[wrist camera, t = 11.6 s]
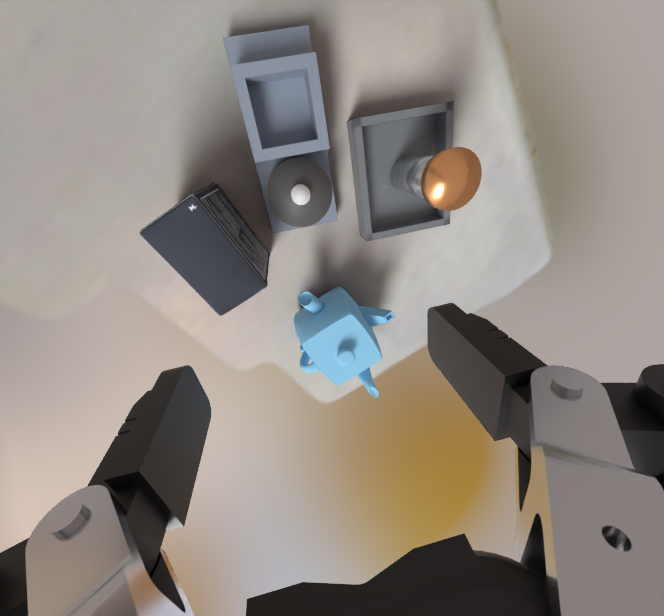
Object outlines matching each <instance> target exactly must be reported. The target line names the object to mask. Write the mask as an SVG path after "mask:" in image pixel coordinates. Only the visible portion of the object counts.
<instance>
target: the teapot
mask: <svg viewBox="0 0 664 616" xmlns="http://www.w3.org/2000/svg"><path fill="white" fill-rule="evenodd" d="M298 301H299V303H300V305H302V306H303V307H304V308H303V309H301V310H300V311H299V312H297V313H296V314H295V317H294V325H295V329H296V332H297V335H298V338H299V340H300V343H301V346H300V350H301V352H302V353H303V354H302V357H301V359H300V367H301V369H302V370H303V371H304V372H306V373H314V372H316V371H318V370H319V369H320V370H321V371H322V372H323V373H324V374H325V375H326V376H327V377H328V378H329V379H330V380H331V381H332V382H333V383H334V384H336V385H340V384H342V383H343V382H345V381H347V380H349V379H351V378H352V377H354V376H356V375H357V377H358V378H359V379H360V380H361V381H362V383H363V384H364V385H365V387H366V388H367V390H368V391H369V393H370V394H371V395H372V396H373V397H378V396H379V394H378V391H377V388H376V387H375V385H374V382H373V380H372V377H371V373H370V368H369V367H371V366H372V365H374V364H375V363H377V362H378V361H380V360H381V359H382V354H381V351H380V347H379V344H378V341H377V339H376V336H375V334H374V332H373V330H372V328H371V327H372V326H375V325H379V324H382V323H386V322H387V323H388V322H389V321H390V320H391V319H393V318H394V317H395V316H394V314H393V313H392V311H391V310H385V309H378V308H372V307H366V306H358V305H357V303H356V302H355V301H354V300H353V299H352V297H351V296H350V295H349V294H348V293H347V292H346V291H345V290H344V289H343V288H342V287H339V286H338V287H336V288H334V289H332V290H331V291H329V292H327V293H326V294H324V295H323V296H321V297H319V298H317V297H316V296H315V295H313V294H312V293H311V292H309V291H304V292H302V293H301V294H300V295H299V297H298ZM310 358H311V359H312V361H313V363H311V364H309V365H308V362H309V360H310Z"/></svg>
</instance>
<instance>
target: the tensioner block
mask: <svg viewBox="0 0 664 616" xmlns="http://www.w3.org/2000/svg"><path fill="white" fill-rule="evenodd" d="M223 41H224V45H225V49H226V53H227V57H228V61H229V64H230V68H231V72H232V76H233V80H234V84H235V88H236V92H237V95H238V99H239V103H240V107H241V111H242V115H243V119H244V122H245V126H246V130H247V134H248V138H249V142H250V146H251V150H252V153H253V157H254V161H255V165H256V169H257V173H258V177H259V181H260V184H261V188H262V192H263V196H264V200H265V204H266V208H267V211H268V215H269V219H270V223H271V227H272V231H273V233H277V232H282V231H287V230H292V229H297V228H302V227H307V226H312V225H317V224H322V223H327V222H332V221H336V220H338V218H337V211H336V205H335V198H334V191H333V185H332V178H331V171H330V164H329V158H328V151H327V149H330V146H329V139H328V132H327V125H326V118H325V112H324V105H323V98H322V91H321V84H320V77H319V70H318V63H317V56H316V52H313V50H312V44H311V37H310V30H309V25H304V26H297V27H291V28H284V29H278V30H271V31H264V32H258V33H251V34H244V35H238V36H231V37H225V38H223Z"/></svg>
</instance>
